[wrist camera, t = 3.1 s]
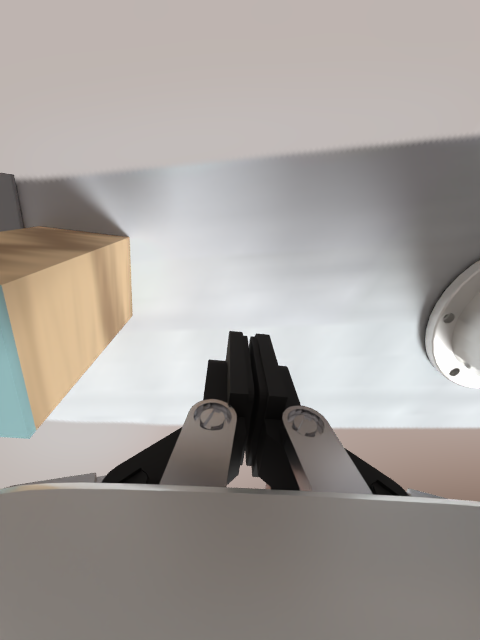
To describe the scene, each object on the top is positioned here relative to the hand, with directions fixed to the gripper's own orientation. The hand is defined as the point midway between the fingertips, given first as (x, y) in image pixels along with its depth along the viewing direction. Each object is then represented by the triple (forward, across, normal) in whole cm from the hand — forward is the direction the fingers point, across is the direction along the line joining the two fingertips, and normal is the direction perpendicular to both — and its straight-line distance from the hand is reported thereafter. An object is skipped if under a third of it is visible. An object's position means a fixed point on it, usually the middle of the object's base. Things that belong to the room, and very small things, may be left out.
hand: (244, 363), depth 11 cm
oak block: (+10, +11, 0) cm, 15 cm away
